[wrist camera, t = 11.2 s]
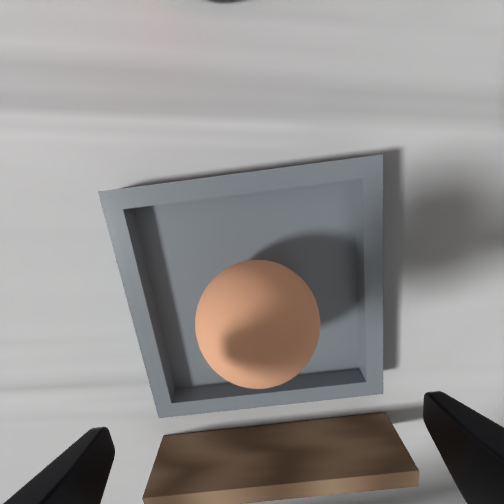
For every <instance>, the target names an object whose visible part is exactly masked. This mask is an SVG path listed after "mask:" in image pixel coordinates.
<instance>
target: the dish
mask: <svg viewBox="0 0 504 504" xmlns="http://www.w3.org/2000/svg"><path fill="white" fill-rule="evenodd" d="M98 193H99V197H100V200H101V204H102V208H103V212H104V215H105V219H106V223H107V227H108V230H109V234H110V238H111V241H112V245H113V249H114V253H115V256H116V260H117V264H118V268H119V271H120V275H121V279H122V282H123V286H124V290H125V294H126V297H127V301H128V305H129V309H130V312H131V316H132V320H133V324H134V327H135V331H136V335H137V338H138V342H139V346H140V350H141V353H142V357H143V361H144V365H145V368H146V372H147V376H148V379H149V383H150V387H151V391H152V394H153V398H154V402H155V406H156V409H157V413H158V417H159V418H164V417H173V416H183V415H192V414H201V413H210V412H219V411H229V410H238V409H247V408H256V407H266V406H275V405H284V404H293V403H303V402H312V401H321V400H330V399H340V398H349V397H358V396H367V395H377V394H383V154H381V155H373V156H366V157H358V158H351V159H343V160H335V161H328V162H320V163H313V164H305V165H297V166H290V167H282V168H274V169H267V170H259V171H252V172H244V173H236V174H229V175H221V176H213V177H206V178H198V179H191V180H183V181H175V182H168V183H160V184H153V185H145V186H137V187H130V188H122V189H114V190H107V191H99V192H98ZM248 260H267V261H272V262H275V263H279V264H281V265H283V266H285V267H287V268H289V269H290V270H292V271H293V272H295V273H296V274H297V275H298V276H300V277H301V278H302V280H303V281H304V282H305V283H306V284H307V285H308V287H309V288H310V290H311V291H312V293H313V295H314V298H315V300H316V302H317V306H318V309H319V315H320V334H319V340H318V344H317V347H316V349H315V351H314V354H313V356H312V358H311V359H310V361H309V362H308V364H307V365H306V366H305V367H304V369H303V370H302V371H301V372H300V373H299V374H297V375H296V376H295V377H294V378H292V379H291V380H289V381H287V382H285V383H283V384H281V385H278V386H275V387H271V388H265V389H251V388H245V387H241V386H238V385H235V384H233V383H231V382H229V381H227V380H225V379H224V378H223V377H221V376H220V375H219V374H217V373H216V372H215V371H214V370H213V369H212V368H211V366H210V365H209V364H208V363H207V361H206V359H205V358H204V356H203V355H202V352H201V350H200V348H199V345H198V341H197V338H196V331H195V317H196V311H197V306H198V303H199V300H200V298H201V296H202V294H203V292H204V290H205V289H206V287H207V286H208V284H209V283H210V282H211V281H212V279H213V278H214V277H216V276H217V275H218V274H219V273H220V272H221V271H223V270H224V269H226V268H228V267H230V266H232V265H234V264H236V263H239V262H243V261H248Z"/></svg>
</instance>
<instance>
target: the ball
mask: <svg viewBox="0 0 504 504" xmlns="http://www.w3.org/2000/svg"><path fill="white" fill-rule="evenodd" d="M195 331H196V338H197V341H198V345H199V348H200V350H201V352H202V355H203V356H204V358H205V359H206V361H207V363H208V364H209V365H210V366H211V368H212V369H213V370H214V371H215V372H216V373H217V374H219V375H220V376H221V377H223V378H224V379H225V380H227V381H229V382H231V383H233V384H235V385H238V386H241V387H245V388H251V389H265V388H271V387H275V386H278V385H281V384H283V383H285V382H287V381H289V380H291V379H292V378H294V377H295V376H296V375H297V374H299V373H300V372H301V371H302V370H303V369H304V367H305V366H306V365H307V364H308V362H309V361H310V359H311V358H312V356H313V354H314V351H315V349H316V347H317V344H318V340H319V334H320V315H319V309H318V306H317V302H316V300H315V298H314V295H313V293H312V291H311V290H310V288H309V287H308V285H307V284H306V283H305V282H304V281H303V280H302V278H301V277H300V276H298V275H297V274H296V273H295V272H293V271H292V270H290V269H289V268H287V267H285V266H283V265H281V264H279V263H275V262H272V261H267V260H248V261H243V262H239V263H236V264H234V265H232V266H230V267H228V268H226V269H224V270H223V271H221V272H220V273H219V274H218V275H217V276H216V277H214V278H213V279H212V281H211V282H210V283H209V284H208V286H207V287H206V289H205V290H204V292H203V294H202V296H201V298H200V300H199V303H198V306H197V311H196V317H195Z"/></svg>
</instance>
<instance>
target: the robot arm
mask: <svg viewBox="0 0 504 504" xmlns="http://www.w3.org/2000/svg"><path fill="white" fill-rule="evenodd" d="M423 419H424V422H425V425H426V427H427V429H428V431H429V433H430V435H431V437H432V439H433V441H434V443H435V445H436V447H437V448H438V450H439V452H440V454H441V456H442V458H443V460H444V462H445V464H446V466H447V468H448V470H449V472H450V474H451V476H452V478H453V479H454V481H455V483H456V485H457V487H458V489H459V490H460V492H461V494H462V495H463V497H464V499H465V500H466V502H467V504H504V427H502V426H500V425H498V424H497V423H495V422H493V421H491V420H490V419H488V418H486V417H485V416H483V415H481V414H479V413H478V412H476V411H474V410H473V409H471V408H469V407H467V406H466V405H464V404H462V403H461V402H459V401H457V400H455V399H454V398H452V397H450V396H449V395H447V394H445V393H443V392H441V391H436V392H427V393H425V395H424V406H423ZM114 456H115V448H114V444H113V441H112V438H111V436H110V433H109V430H108V428H106V427H98V428H92V429H90V430H89V431H88V432H87V433H85V434H84V435H83V436H82V437H81V438H79V439H78V440H77V441H76V442H75V443H74V444H72V445H71V446H70V447H69V448H68V449H67V450H65V451H64V452H63V453H62V454H61V455H60V456H58V457H57V458H56V459H55V460H54V461H53V462H51V463H50V464H49V465H48V466H47V467H46V468H44V469H43V470H42V471H41V472H40V473H39V474H37V475H36V476H35V477H34V478H33V479H32V480H30V481H29V482H28V483H27V484H26V485H25V486H23V487H22V488H21V489H20V490H19V491H18V492H16V493H15V494H14V495H13V496H12V497H11V498H9V499H8V500H7V501H6V502H5V503H4V504H100V503H101V499H102V496H103V493H104V490H105V486H106V483H107V480H108V476H109V473H110V470H111V467H112V463H113V460H114Z"/></svg>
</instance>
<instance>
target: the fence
mask: <svg viewBox="0 0 504 504" xmlns="http://www.w3.org/2000/svg"><path fill="white" fill-rule="evenodd" d="M418 479H419V470H418V468H417V466H416V465H415V463H414V461H413V459H412V458H411V456H410V454H409V452H408V451H407V449H406V447H405V445H404V444H403V442H402V440H401V439H400V437H399V435H398V433H397V432H396V430H395V428H394V426H393V425H392V423H391V421H390V419H389V418H388V416H387V414H386V412H384V413H374V414H365V415H356V416H346V417H337V418H327V419H318V420H309V421H299V422H290V423H281V424H271V425H262V426H252V427H243V428H234V429H224V430H215V431H205V432H196V433H187V434H177V435H168V436H163V438H162V441H161V444H160V447H159V450H158V453H157V456H156V459H155V462H154V465H153V468H152V471H151V474H150V477H149V480H148V483H147V486H146V489H145V492H144V495H143V498H142V499H143V502H144V504H242V503H252V502H262V501H272V500H282V499H292V498H302V497H312V496H323V495H333V494H343V493H353V492H363V491H373V490H383V489H393V488H403V487H413V486H418Z"/></svg>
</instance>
